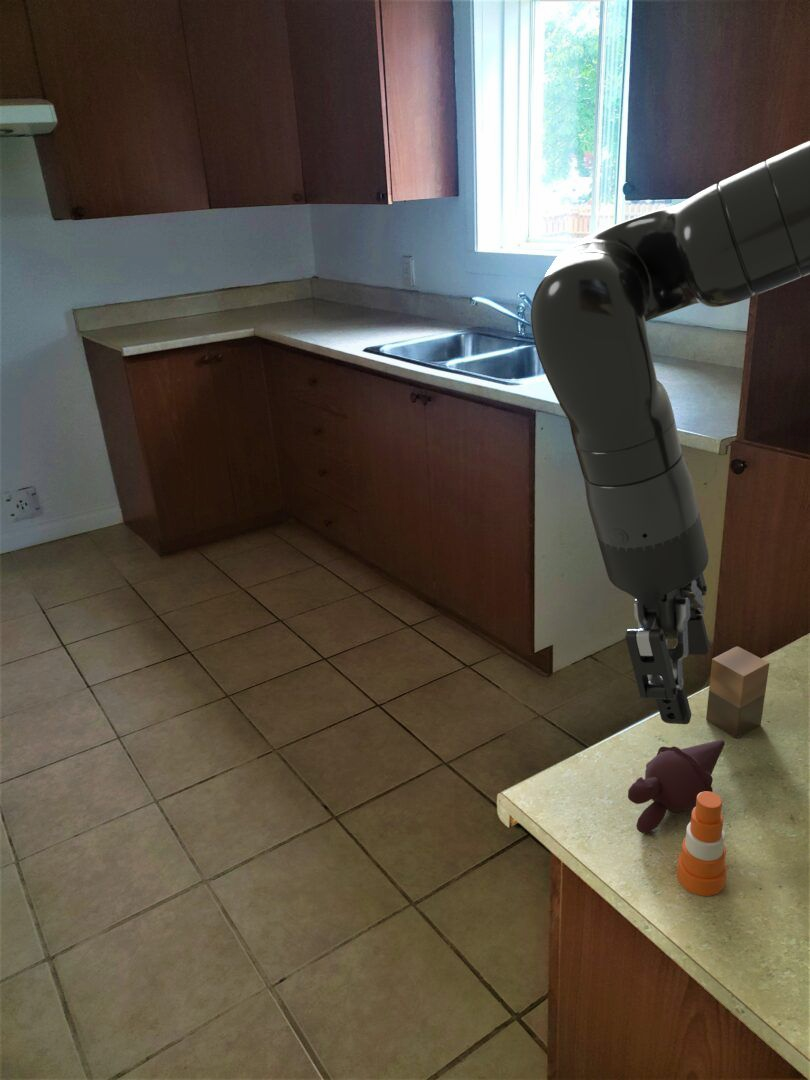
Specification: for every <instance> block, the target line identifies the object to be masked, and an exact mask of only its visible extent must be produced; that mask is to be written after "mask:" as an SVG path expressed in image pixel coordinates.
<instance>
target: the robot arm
mask: <svg viewBox="0 0 810 1080" xmlns="http://www.w3.org/2000/svg"><path fill="white" fill-rule="evenodd" d="M809 275H810V140H807V141H805V142H802V143H800V144H797V145H795V146H793V147H791V148H789V149H787V150H785V151H782V152H780V153H778V154H776V155H773V156H771V157H769V158H767V159H766V160H762V161H760V162H758V163H756V164H754V165H752V166H750V167H748V168H745V169H744V170H741V171H738V172H737V173H735V174H733V175H731V176H728V177H727V178H726V177H725V178H724V179H722V180H720V181H719V183H714V184H712V185H710V186H708V187H706V188H704V189H703V190H701V191H699V192H697V193H695V194H694V195H692V196H690V197H688V198H687V199H684V200H683V201H680V202H678V203H675V204H672V205H670V206H666V207H662V208H659V209H656V210H654V211H650V212H647V213H645V214H642V215H639V216H636V217H633V218H630V219H627V220H625V221H622V222H619V223H616V224H614V225H612V226H609V227H607V228H604V229H602V230H599V231H597V232H595V233H593V234H591V235H588V236H586V237H584V238H582V239H580V240H579V241H577V242H575V243H573V244H572V245H570V246H568V247H567V248H566V249H565V250H563V251H562V252H561V253H560V254H559V255H558V256H557V257H556V258H555V260H554V261H553V262H552V264H551V265H550V267H549V269H548V270H547V272H546V273H545V275H544V277H543V278H542V279H541V281H540V283H539V284H538V286H537V287H536V290H535V292H534V295H533V298H532V301H531V306H530V325H531V326H530V327H531V333H532V338H533V342H534V346H535V350H536V354H537V356H538V359H539V362H540V364H541V367H542V370H543V372H544V374H545V377H546V379H547V381H548V383H549V385H550V387H551V389H552V391H553V394H554V395H555V398H556V400H557V403H558V404H559V406H560V408H561V409H562V411H563V413H564V414H565V416H566V419H567V420H568V423H569V427H570V432H571V436H572V441H573V445H574V449H575V452H576V456H577V459H578V464H579V466H580V470H581V474H582V477H583V482H584V487H585V496H586V502H587V507H588V510H589V514H590V518H591V521H592V525H593V528H594V532H595V537H596V539H597V541H598V542H597V543H598V546H599V550H600V554H601V556H602V560H603V563H604V567H605V570H606V571H605V572H606V574H607V578H608V580H609V581H610V582H611V584H612V585H613V586H614V587H616V588H617V589H618V590H620V591H623V592H624V593H627V594H628V595H630V596H631V597H632V598H635V599H634V601H633V602H634V603H633V614H634V619H635V620H636V623H637V628H628V629H627V630H626V632H625V641H626V646H627V649H628V653H629V658H630V660H631V665H632V668H633V672H634V677H635V681H636V684H637V689H638V692H639V693H638V694H639V696H640V698H641V699H648V700H649V699H650V700H651V699H652V700H655V701H656V705H657V709H658V712H659V716H660V719H661V720H662V722H663V723H666V724H671V725H673V724H674V725H688V724H690V722H691V719H692V710H691V706H690V703H689V699H688V695H687V692H686V691H687V690H686V686H685V680H684V673H683V672H684V671H683V670H684V669H683V668H684V667H683V661H684V659H686V658H687V657H688V656H690V655H693V656H696V655H698V656H699V655H700V656H702V655H703V656H704V655H707V654H708V653H709V650H710V642H709V637H708V633H707V629H706V625H705V621H704V616H703V615H704V613H705V609H706V606H705V605H706V604H705V603H704V600H703V597H704V596H706V595H707V591H708V586H707V584H706V581H705V577H704V571H705V570H706V568H707V567H708V563H709V558H710V557H709V551H708V545H707V542H706V541H707V540H706V537H705V532H704V528H703V523H702V518H701V515H700V514H701V513H700V510H699V506H698V500H697V496H696V491H695V487H694V482H693V479H692V478H693V477H692V476H691V472H690V470H689V468H688V465H687V463H686V460H685V457H684V454H683V451H682V447H681V446H682V445H681V442H680V437H679V433H678V427H677V424H676V419H675V414H674V410H673V406H672V402H671V400H670V396H669V395H668V392H667V390H666V388H665V387H664V385H663V384H662V383H661V382H660V381H659V380H658V378H657V374H656V368H655V364H654V359H653V354H652V350H651V347H650V342H649V335H648V330H647V323H646V322H648V321H651V320H653V319H656V318H658V317H661V316H664V315H666V314H670V313H673V312H675V311H679V310H681V309H684V308H687V307H690V306H693V305H695V304H702V305H704V306H706V307H710V308H719V307H724V306H729V305H733V304H737V303H740V302H742V301H745V300H748V299H750V298H753V297H755V295H756V296H759V295H760V294H763V293H765V292H768V291H770V290H773V289H775V288H779V287H780V286H784V285H785V284H788V283H791V282H794V281H797V280H798V279H802V277H806V276H809ZM669 640H676V644H675V646H674V647H668V646H669Z"/></svg>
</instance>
